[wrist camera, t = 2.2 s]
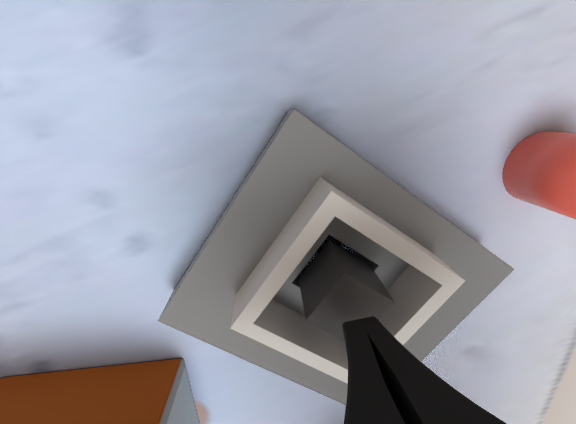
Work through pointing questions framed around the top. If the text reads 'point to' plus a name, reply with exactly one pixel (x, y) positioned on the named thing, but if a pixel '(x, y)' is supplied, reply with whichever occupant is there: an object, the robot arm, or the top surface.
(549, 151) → the cap
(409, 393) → the robot arm
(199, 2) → the top surface
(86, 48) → the top surface
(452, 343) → the top surface
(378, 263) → the grey square socket base
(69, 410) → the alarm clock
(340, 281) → the button
